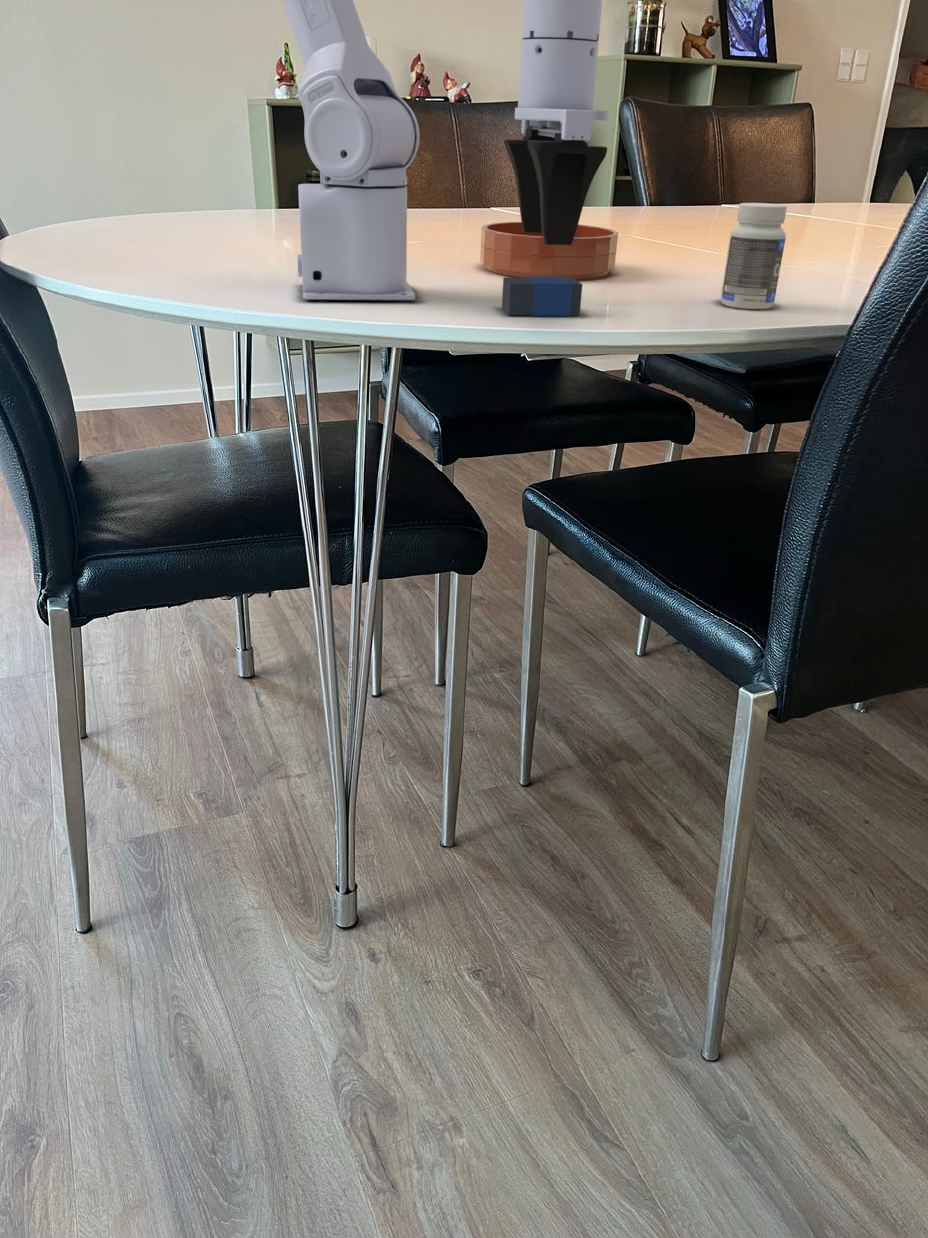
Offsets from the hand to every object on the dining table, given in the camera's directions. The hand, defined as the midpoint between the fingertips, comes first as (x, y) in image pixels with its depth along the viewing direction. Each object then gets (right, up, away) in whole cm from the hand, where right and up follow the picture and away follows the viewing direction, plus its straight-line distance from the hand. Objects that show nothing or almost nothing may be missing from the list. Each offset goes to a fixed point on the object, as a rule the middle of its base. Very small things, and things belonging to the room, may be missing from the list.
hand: (546, 237), depth 77 cm
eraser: (0, -5, +3) cm, 6 cm away
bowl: (+2, +6, +24) cm, 24 cm away
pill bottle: (+19, -3, +9) cm, 21 cm away
